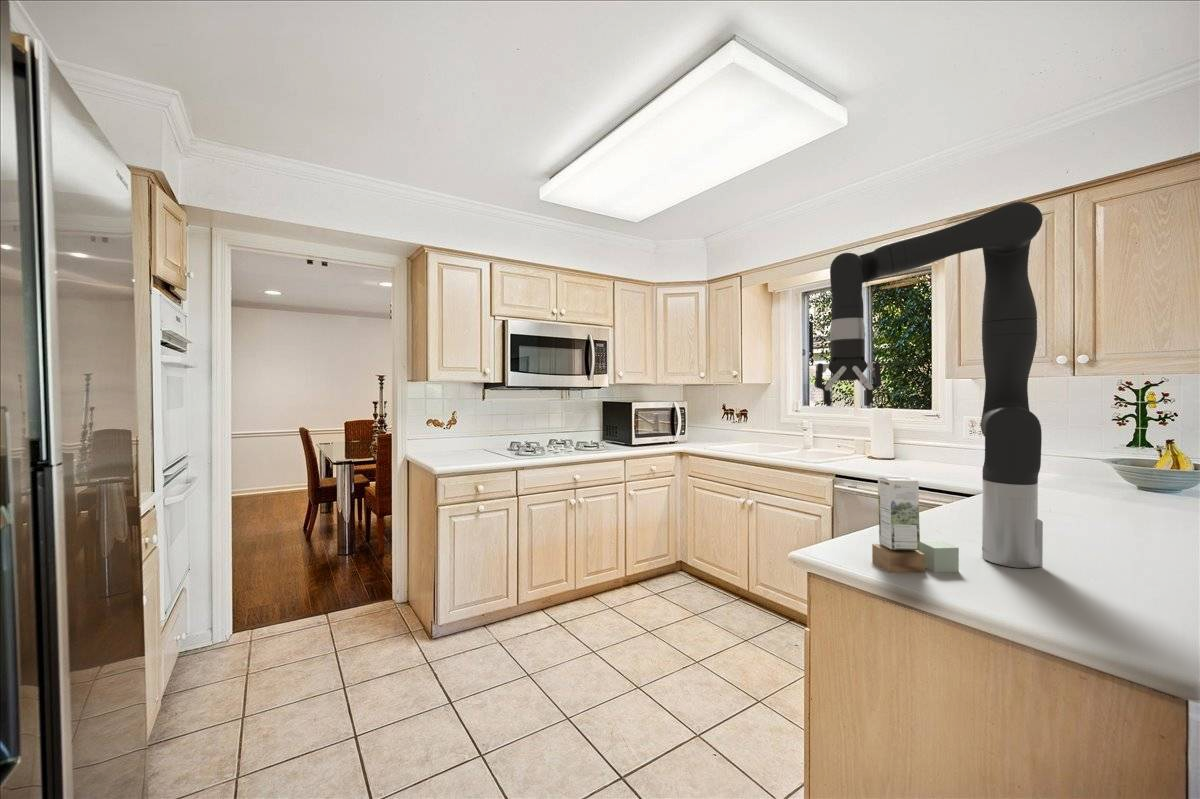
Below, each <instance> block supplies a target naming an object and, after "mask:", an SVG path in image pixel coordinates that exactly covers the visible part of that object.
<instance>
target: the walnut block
mask: <svg viewBox="0 0 1200 799" xmlns="http://www.w3.org/2000/svg"><path fill="white" fill-rule="evenodd" d="M871 545H872V546H871V548H872V550H871V553H872V557H871V558H872V559H871V560H872V562H873V563H874V564H876V565H878V566H879V567H880V568H881V569H883V570H885V571H887V572H888V573H890V574H899V573H900V574H902V573H903V574H904V573H906V574H907V573H909V574H910V573H912V574H913V573H916V574H918V573H919V574H920V573H926V568H925V554H924V553H922V552H920V551H919V550H892V549H890V548H887V547H885V546H883V545H881V544H880V543H872V544H871Z"/></svg>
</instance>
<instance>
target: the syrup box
mask: <svg viewBox="0 0 1200 799" xmlns="http://www.w3.org/2000/svg"><path fill="white" fill-rule="evenodd" d="M877 490H878V491H877V495H878V534H879V535H878V536H879V538H878V539H879V540H878V541H879V544H881V545H883V546H885V547H887V548H890V549H892V550H918V551H919V550H920V541H921V538H920V537H921V536H920V533H921V532H920V531H921V530H920V492H919V490H920V489H919V481H918V480H916V479H914V478H912V477H911V478H910V477H878V478H877Z"/></svg>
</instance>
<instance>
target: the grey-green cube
mask: <svg viewBox="0 0 1200 799" xmlns="http://www.w3.org/2000/svg"><path fill="white" fill-rule="evenodd" d="M918 551H920V552H922V553H924V554H925V569H927V570H930V571H932V572H933V573H959V570H960V568H959V567H960V564H959V562H960V557H959V553H960V552H959V551H960V550H959V547H958V546H955V545H954V544H951V543H949V542H946V541H945V540H920V550H918Z"/></svg>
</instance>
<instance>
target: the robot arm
mask: <svg viewBox="0 0 1200 799" xmlns="http://www.w3.org/2000/svg"><path fill="white" fill-rule="evenodd" d="M1042 224H1043V214H1042V210H1040V209H1039V208H1038V207H1037V206H1036V205H1035V204H1033V203H1030V202H1026V201H1014V202H1010V203H1006V204H1004V205H1002V206H999V207H997V208H995V209H993V210H990V211H988V212H985V213H982V214H980V215H978V216H976V217H973V218H970V219H967V220H965V221H961V222H959V223H956V224H954V225H953V224H952V225H950V226H947V227H944V228H941V229H938V230H933V231H931V232H926V233H923V234H919V235H915V236H912V237H908V238H903V239H899V240H897V241H893V242H889V243H885V244H882V245H880V246H878V247H876V248H874V249H873V250H872V251H868V252H865V253H862V254H856V253H854V252H851V251H847V252H842V253H840V254H838V255H836V256H835V257H834V258H833V260H832V262H831V264H830V269H829V275H830V289H831V290H830V291H831V306H830V316H831V317H830V318H831V319H830V320H831V322H830V329H829V346H830V347H829V348H830V349H829V351H830V352H829V363H821V362H820V363H817V364H816V365H815V376H814V378H815V381H814V387H815V388H816V389H820V390H822V393H823V394H822V395H823V397H822V400H823V404H825V405H826V407H831V406H832V391H831V389H832V387H833V385H834V384H836V383H837V381H840V382H841V381H844V382H846V381H851V382H852V381H858V383H859V384H861V385H862V387H863V388H864V389H865V390H863V396H864V397H863V405H864V406H865V407H869V406H870V405H871V404H873V391H874V389H878V388H880V387H881V386H882V374H881V373H882V372H881V363H880V362H879V361H874V362H868V363H867V362H866V341H865V340H866V331H865V329H866V327H865V321H864V320H865V319H864V317H865V316H864V313H865V312H864V298H863V284H864V283H866V282H871V281H872V280H875V279H878V278H880V277H883V276H888V275H893V274H897V273H903V272H907V271H911V270H913V269H917V268H920V267H923V266H924V267H925V266H926V265H929V264H932V263H935V262H937V261H940V260H942V259H946V258H948V257H949V258H950V257H951V256H955V255H958V254H961V253H964V252H969V251H974V250H977V249H982V253H983V254H982V256H983V262H984V272H985V283H984V291H983V302H982V315H981V317H982V318H981V342H982V344H981V346H982V361H983V370H984V377H985V378H984V379H985V381H984V382H985V384H984V385H985V387H984V388H985V389H984V398H983V406H982V407H983V408H982V413H981V414H982V415H981V420H980V430H981V434H982V435H983V436H984V461H983V462H984V463H983V466H982V516H981V517H982V519H981V520H982V533H981V538H982V545H981V550H982V552H981V553H982V554H981V555H982V559H984V560H986V561H988V562H990V563H993V564H997V565H1000V566H1005V567H1011V568H1019V569H1033V568H1037V567H1039V568H1041V567H1042V568H1043V566H1044V565H1043V563H1044V562H1043V560H1044V559H1043V558H1044V557H1043V555H1044V554H1043V553H1044V550H1043V549H1044V548H1043V546H1044V542H1043V538H1044V532H1043V531H1044V530H1043V528H1044V522H1043V521H1042V520H1041V519H1039V517H1038V513H1039V512H1038V510H1039V509H1038V506H1039V505H1038V504H1039V502H1038V501H1039V498H1038V496H1039V492H1038V490H1039V484H1038V483H1039V474H1040V471H1041V465H1042V464H1041V463H1042V440H1043V439H1042V435H1043V434H1042V425H1041V422H1040V420H1039V418H1038V416H1037V415H1036V414H1035V413H1033V412H1032V411H1030V404H1029V403H1030V402H1029V392H1028V383H1029V378H1030V377H1029V376H1030V372H1031V369H1032V365H1033V362H1034V357H1035V352H1036V349H1037V342H1038V312H1037V310H1038V309H1037V306H1036V301H1035V300H1036V299H1035V297H1034V293H1033V290H1032V286H1031V283H1030V280H1029V272H1028V271H1029V270H1028V269H1029V255H1030V248H1031V242H1032V240H1033V239H1034V238H1035V237H1036V235H1037V234H1038V232H1039V231H1040V230H1041V227H1042ZM867 368H868V370H869V371H870V372H871V373H872V378H871V379H872V383H871V382H870V381H869V379H868V378H867V377H866V376H865V374H864V372H865V371H866V370H867ZM827 369H828V370H829V372H830V373H831V376H830V377H829V378H828V379H827V381H826V382H825V383H823V376H824V375H823V374H825V372H826V371H827Z"/></svg>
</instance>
